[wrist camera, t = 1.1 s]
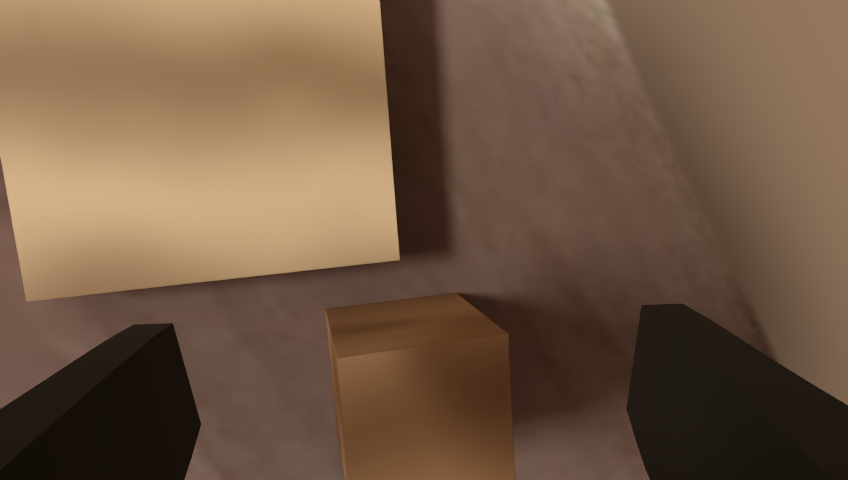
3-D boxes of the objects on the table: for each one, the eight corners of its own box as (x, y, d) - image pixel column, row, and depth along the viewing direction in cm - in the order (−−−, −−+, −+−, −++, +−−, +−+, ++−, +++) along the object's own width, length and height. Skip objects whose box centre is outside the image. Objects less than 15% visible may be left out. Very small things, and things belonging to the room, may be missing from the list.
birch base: (388, 250, 19) (399, 260, 17) (55, 285, 17) (26, 301, 15) (363, -71, 18) (372, -99, 16) (-6, -76, 16) (-47, -110, 14)
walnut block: (463, 414, 21) (515, 490, 16) (337, 435, 20) (353, 523, 15) (455, 292, 20) (508, 333, 15) (324, 308, 19) (337, 358, 14)
